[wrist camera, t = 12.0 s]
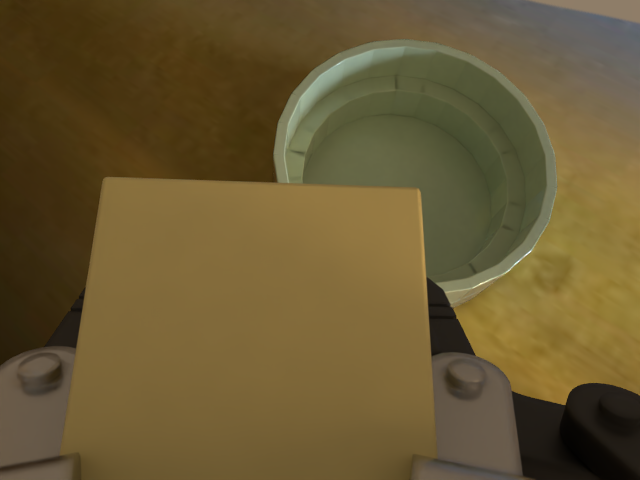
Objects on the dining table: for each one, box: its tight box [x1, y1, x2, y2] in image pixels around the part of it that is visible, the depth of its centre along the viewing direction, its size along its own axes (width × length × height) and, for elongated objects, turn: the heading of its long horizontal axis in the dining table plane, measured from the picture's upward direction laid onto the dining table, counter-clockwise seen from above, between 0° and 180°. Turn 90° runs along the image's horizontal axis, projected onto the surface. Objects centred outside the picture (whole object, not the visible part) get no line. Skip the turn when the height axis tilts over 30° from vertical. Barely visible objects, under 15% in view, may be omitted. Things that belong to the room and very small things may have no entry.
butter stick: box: [59, 177, 438, 480], centre depth 11 cm, size 4×4×10 cm
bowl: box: [273, 39, 557, 308], centre depth 32 cm, size 15×15×6 cm
